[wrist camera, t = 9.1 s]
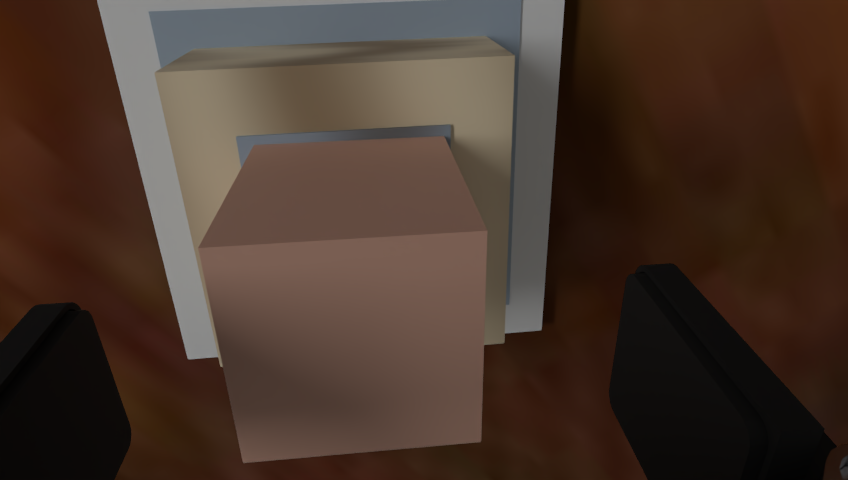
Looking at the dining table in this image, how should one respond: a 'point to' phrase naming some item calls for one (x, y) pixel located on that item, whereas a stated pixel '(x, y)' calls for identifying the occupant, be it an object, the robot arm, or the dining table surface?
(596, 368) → the dining table surface
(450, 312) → the block
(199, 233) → the plinth
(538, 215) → the board
